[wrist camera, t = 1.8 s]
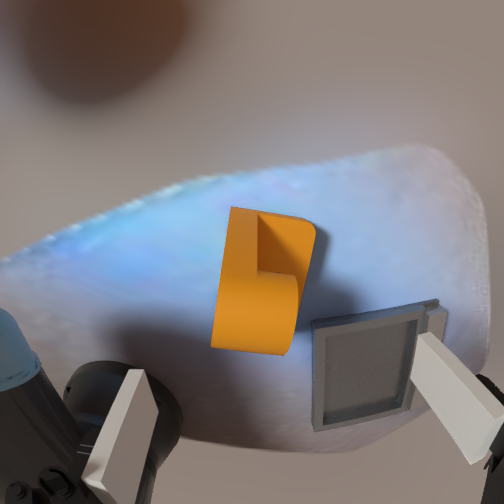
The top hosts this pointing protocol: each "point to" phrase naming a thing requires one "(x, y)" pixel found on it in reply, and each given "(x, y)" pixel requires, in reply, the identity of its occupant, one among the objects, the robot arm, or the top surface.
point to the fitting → (368, 363)
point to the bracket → (261, 281)
